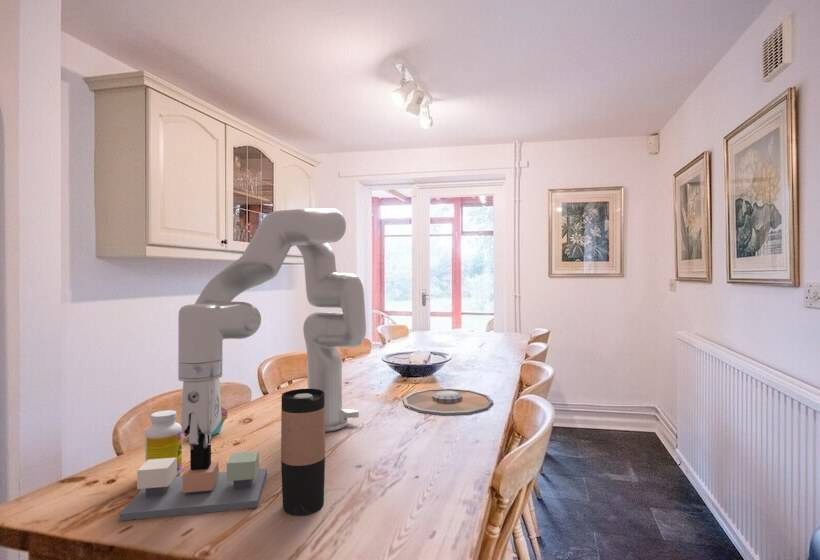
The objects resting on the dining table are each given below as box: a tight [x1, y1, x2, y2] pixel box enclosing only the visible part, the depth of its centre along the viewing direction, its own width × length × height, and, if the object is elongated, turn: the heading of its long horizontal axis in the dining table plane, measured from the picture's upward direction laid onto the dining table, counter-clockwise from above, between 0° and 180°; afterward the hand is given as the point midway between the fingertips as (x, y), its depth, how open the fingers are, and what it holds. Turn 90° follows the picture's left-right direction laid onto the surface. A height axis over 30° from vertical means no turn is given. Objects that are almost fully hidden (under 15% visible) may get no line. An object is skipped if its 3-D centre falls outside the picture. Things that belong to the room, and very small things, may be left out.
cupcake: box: [211, 406, 229, 436], centre depth 118 cm, size 9×8×12 cm
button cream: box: [136, 457, 178, 490], centre depth 82 cm, size 5×5×3 cm
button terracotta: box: [182, 460, 220, 493], centre depth 83 cm, size 5×5×3 cm
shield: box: [402, 388, 494, 416], centre depth 147 cm, size 30×3×30 cm
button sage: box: [226, 451, 260, 481], centre depth 85 cm, size 5×5×3 cm
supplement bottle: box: [144, 409, 183, 476], centre depth 92 cm, size 7×7×13 cm
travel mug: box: [280, 388, 326, 517], centre depth 79 cm, size 8×8×20 cm
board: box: [119, 467, 268, 522], centre depth 83 cm, size 22×14×3 cm, turn 101°
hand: (200, 467), depth 83 cm, fingers closed
